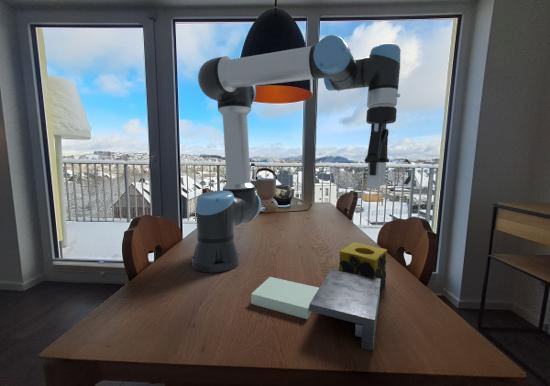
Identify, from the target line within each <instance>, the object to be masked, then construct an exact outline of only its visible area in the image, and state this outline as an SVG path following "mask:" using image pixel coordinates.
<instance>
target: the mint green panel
mask: <svg viewBox="0 0 550 386" xmlns="http://www.w3.org/2000/svg"><path fill="white" fill-rule="evenodd" d="M319 288H320V287H317V286H313V285H310V284H309V285H308V284H304V283H300V282H295V281H290V280H287V279H281V278H277V277H273V276H269V277H268V278H267V279H265V280H264V281H263V283H262V284H260V285H259V286H258V287H257V288H255V290H254V291H253V292H252V293H251V294H250V295H251V296H250V298H251V299H250V300H251V301H250V303H251V305H254V306H258V307H262V308H266V309H269V310H272V311H275V312H280V313H283V314H287V315H291V316H295V317H298V318H302V319H305V320H309V318H310V316H311V314H312V313H313V312H311V311H309V304H310V302H311V301H312V299H313V297H314V296H315V294H316V293H317V291H318V289H319Z"/></svg>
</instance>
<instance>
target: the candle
mask: <svg viewBox="0 0 550 386" xmlns="http://www.w3.org/2000/svg"><path fill="white" fill-rule="evenodd" d="M387 255H388V249H386V248H382V247H377V246H373V245H368V244H364V243H359V242H356V241H354V242H352V243H350V244H349V245H347V246H346V247H344V248H342V249H341V250H340V251H339V263H338V264H339V265H338V271H342V272H347V273H352V274H358V275H363V276H369V277H374V278H379V279H381V281H380V289H382V287H383V286H384V285H385V284H386V282H387V281H386V278H387V272H386V265H387Z"/></svg>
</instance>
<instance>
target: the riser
mask: <svg viewBox="0 0 550 386" xmlns="http://www.w3.org/2000/svg"><path fill="white" fill-rule="evenodd" d="M380 281H381V279H379V278H374V277H369V276H363V275H358V274H352V273H347V272H342V271H339V270H335V269H330V270H329V272H328V273H327V275H326V276H325V278H324V280H323V281H322V283H321V284H320V286H319V287H318V288H319V289H318V291H317V293H316V294H315V296H314V297H313V299H312V301H311V302H310V304H309V311H311V312H312V313H315V314H319V315H323V316H327V317H331V318H334V319H338V320H342V321H346V322H350V323H353V324H355V332H354V335H355V337H360V338H361V343H360V344H361V347H360V348H362V349H365V350H368V351H371V352H373V351H374V346H375V337H376V329H377V322H378V313H379V307H380V306H379V305H380V297H381V296H380V294H381V292H380V291H381V288H380Z"/></svg>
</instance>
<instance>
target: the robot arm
mask: <svg viewBox="0 0 550 386" xmlns="http://www.w3.org/2000/svg"><path fill="white" fill-rule="evenodd" d="M401 51H402V50H401V48H400V46H399V45H398V44H395V43H390V42H389V43H386V42H385V43H381V44H379V45H375V46H374V47H372V48H371V50H370V54H369V56H366V57H360V58H355V57H354V56H353V54H352V52H351V49H350V47H349V45H348V44H347V43H346V41H345V40H344V39H343V38H342V37H341V36H338V35H337V34H336V35H335V34H329V35H326V36H324V37H323V38H321V39H320V40H319V41H317V43H316V45H310V46H304V47H298V48H290V49H286V50H281V51H279V50H278V51H274V52H269V53H262V54H255V55H251V56H243V57H238V58H231V57H230V56H225V55H224V56H220V57H215V58H211V59H209V60H206V61H205V62H203V64H202V65H201V67H200V68H199V71H198V75H197V79H198V80H197V81H198V86H199V88H200V90H201V92H202V93H203V95H205V96H206V97H207V98H209V99H210V100H213V101H216V102H217V111H218V112H219V114H220V115H221V116H222V125H223V128H222V129H223V143H224V159H225V174H226V175H225V176H226V179H225V180H226V183H225V184H224V186H223V187H222V190H215V191H212V190H211V191H206V192H204V193H202V194H200V195H199V196H198V197H197V198H196V206H195V214H196V216H195V217H196V237H197V241H196V242H197V243H196V245H195V248H194V253H193V256H192V260H191V261H192V263H191V264H192V268H193V269H194V270H196V271H198V272H202V273H210V274H211V273H214V274H215V273H223V272H228V271H231V270H232V269H235V268H237V267H238V266H239V264H240V253H239V251H238V247H237V243H236V242H235V227H237V226H240V225H243V224H245V223H246V224H247V223H249V222H251V221H252V220H254V219H255V218H257V216H258V215H259V214H260V211H261V209H262V201H261V198H260V196H259V195H258V193H257V192H256V187H255V184H253V182H251V167H250V151H249V150H250V148H249V131H248V130H249V128H248V115H249V114H250V112H252V111H251V110H252V105H253V104H254V101H255V100H256V96H257V91H256V90H257V89H256V86H263V85H272V84H283V83H291V82H298V81H299V82H300V81H306V80H309V81H310V80H318V79H323V84H324V86H325V89H326V90H328V91H338V92H339V91H343V90H351V89H353V90H354V89H360V88H368V90H367V99H366V100H367V102H366V107H367V108H368V109H367V110H366V123H367V124H368V125H371V126H370V129H371V130H370V136H369V142H368V148H367V156H366V158H364V162H365V163H367V175H366V177H367V178H366V188H367V189H379V185H386V174H387V163H390V158H389V157H388V144H389V143H388V142H389V139H388V138H389V135H390V134H389V128H387V124H393V123H394V124H395V122H396V120H397V112H398V111H397V110H398V109H397V108H396V106H397V105H398V98H400V97H401V93H398V92H399V84H400V83H399V82H400V72H401Z"/></svg>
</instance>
